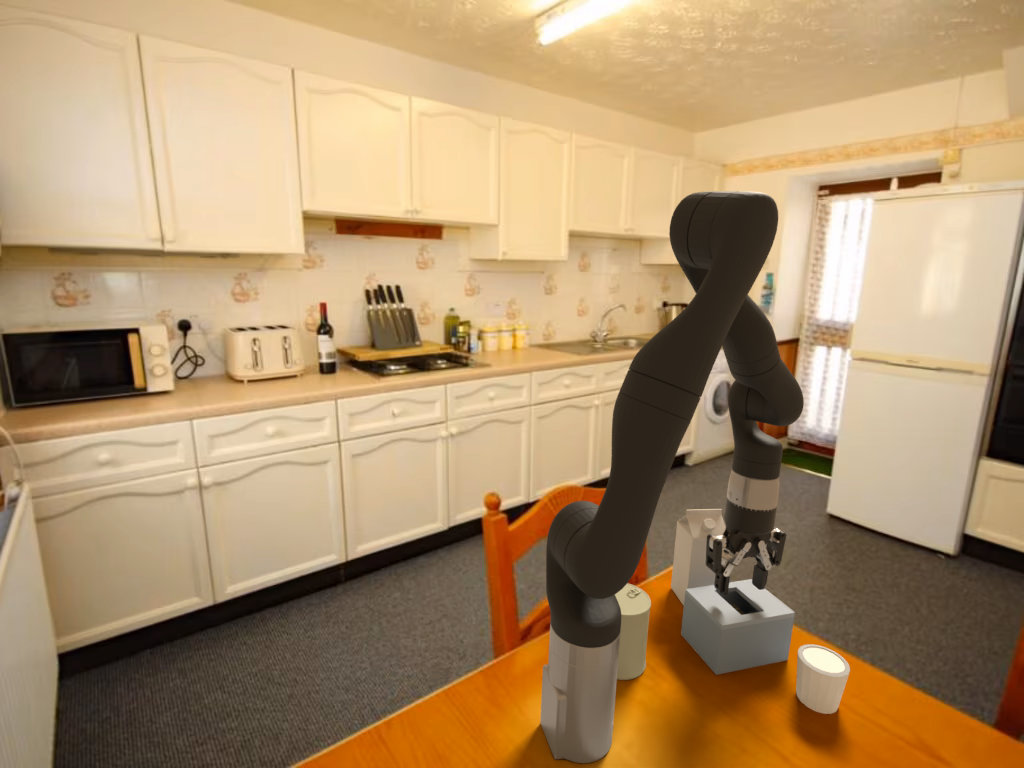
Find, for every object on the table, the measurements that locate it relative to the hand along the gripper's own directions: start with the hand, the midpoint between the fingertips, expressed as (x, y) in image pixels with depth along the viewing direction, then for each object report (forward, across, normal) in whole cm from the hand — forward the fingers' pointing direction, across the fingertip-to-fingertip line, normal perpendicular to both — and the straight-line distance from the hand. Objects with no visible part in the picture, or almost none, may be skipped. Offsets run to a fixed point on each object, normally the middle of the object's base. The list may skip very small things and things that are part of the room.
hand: (740, 589), depth 89 cm
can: (+11, -21, +2) cm, 24 cm away
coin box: (+11, 0, 0) cm, 11 cm away
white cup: (+11, +5, -13) cm, 18 cm away
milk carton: (+11, +2, +14) cm, 18 cm away
